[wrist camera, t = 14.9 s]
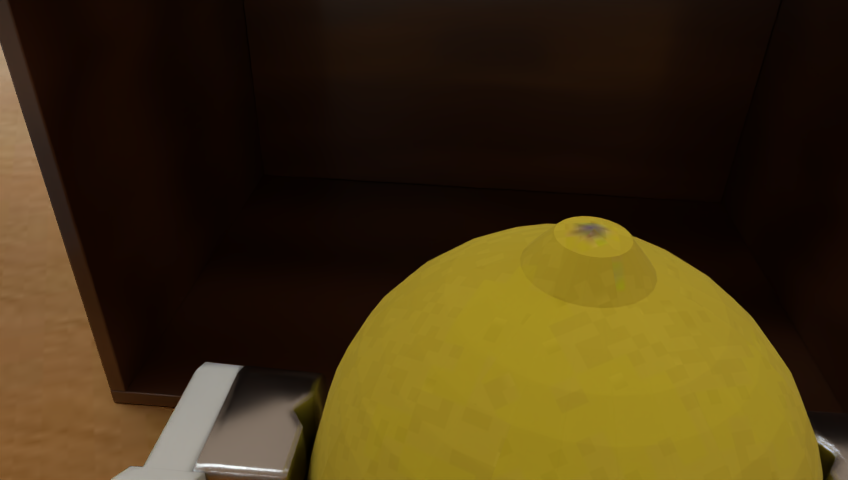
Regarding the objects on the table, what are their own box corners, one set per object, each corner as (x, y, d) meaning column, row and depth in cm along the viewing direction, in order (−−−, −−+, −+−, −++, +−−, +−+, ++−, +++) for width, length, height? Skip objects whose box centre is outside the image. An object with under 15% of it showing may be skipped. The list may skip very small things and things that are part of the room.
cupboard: (878, 466, 23) (1440, -503, 11) (113, 402, 25) (-173, -496, 12) (726, 207, 38) (885, -318, 26) (257, 179, 40) (194, -327, 28)
